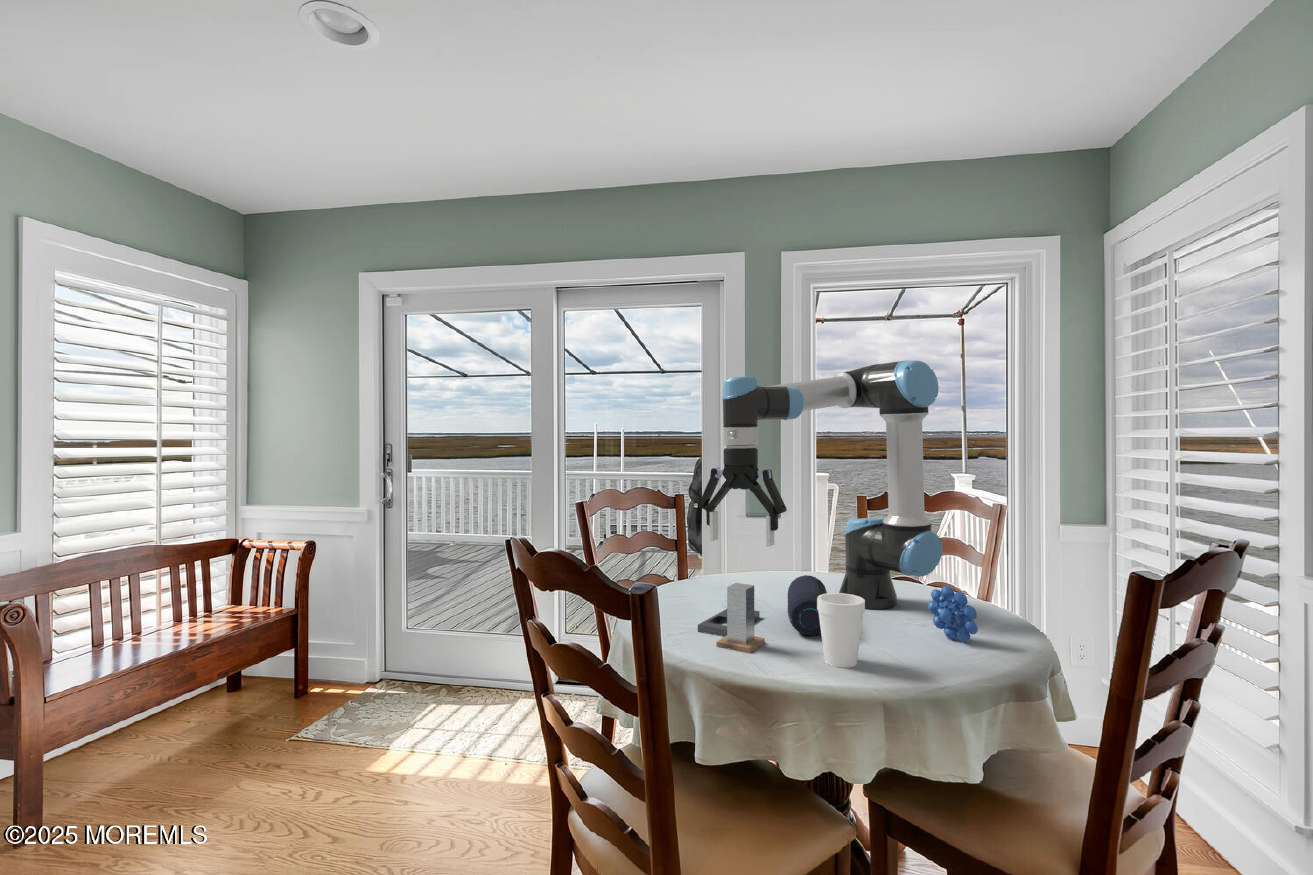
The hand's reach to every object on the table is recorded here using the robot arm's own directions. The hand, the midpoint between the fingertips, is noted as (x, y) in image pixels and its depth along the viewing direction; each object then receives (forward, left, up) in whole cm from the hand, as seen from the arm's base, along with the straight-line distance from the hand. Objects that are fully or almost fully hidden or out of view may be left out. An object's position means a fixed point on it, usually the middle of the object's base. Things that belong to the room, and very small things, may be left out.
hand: (741, 542), depth 144 cm
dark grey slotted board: (+9, -12, -23) cm, 27 cm away
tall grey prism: (0, 0, -22) cm, 22 cm away
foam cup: (-22, -1, -23) cm, 32 cm away
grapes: (-39, -27, -23) cm, 52 cm away
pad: (0, 0, -23) cm, 23 cm away
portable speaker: (-7, -23, -23) cm, 33 cm away
